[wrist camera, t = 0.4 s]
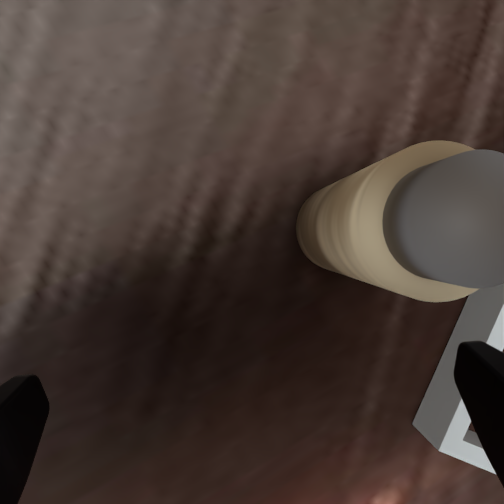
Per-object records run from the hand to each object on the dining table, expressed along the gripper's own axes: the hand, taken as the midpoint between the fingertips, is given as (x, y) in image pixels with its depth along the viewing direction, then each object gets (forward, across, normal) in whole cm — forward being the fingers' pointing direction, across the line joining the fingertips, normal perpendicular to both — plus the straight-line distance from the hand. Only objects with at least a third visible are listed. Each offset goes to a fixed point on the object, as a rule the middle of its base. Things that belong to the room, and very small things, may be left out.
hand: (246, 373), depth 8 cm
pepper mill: (+15, -5, +3) cm, 16 cm away
